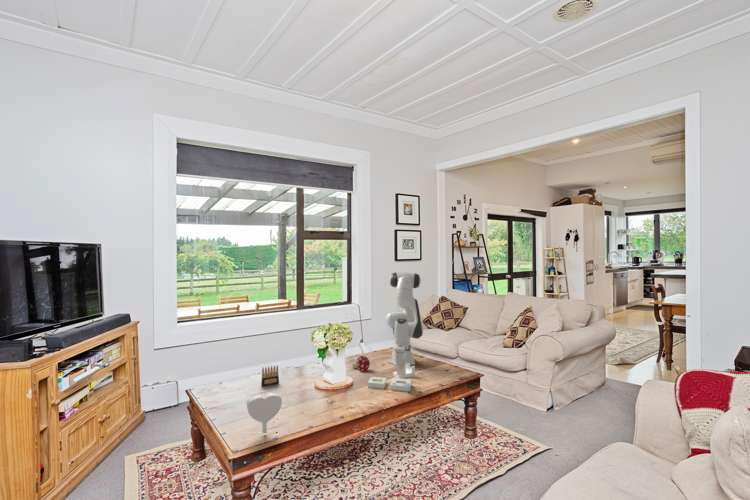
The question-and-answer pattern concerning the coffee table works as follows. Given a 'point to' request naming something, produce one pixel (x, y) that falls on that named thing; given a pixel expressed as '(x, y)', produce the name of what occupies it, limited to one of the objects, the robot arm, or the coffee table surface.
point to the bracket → (409, 372)
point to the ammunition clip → (270, 376)
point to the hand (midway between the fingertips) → (401, 367)
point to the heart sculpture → (264, 408)
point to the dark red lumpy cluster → (362, 363)
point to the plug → (403, 370)
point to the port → (401, 384)
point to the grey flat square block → (377, 382)
